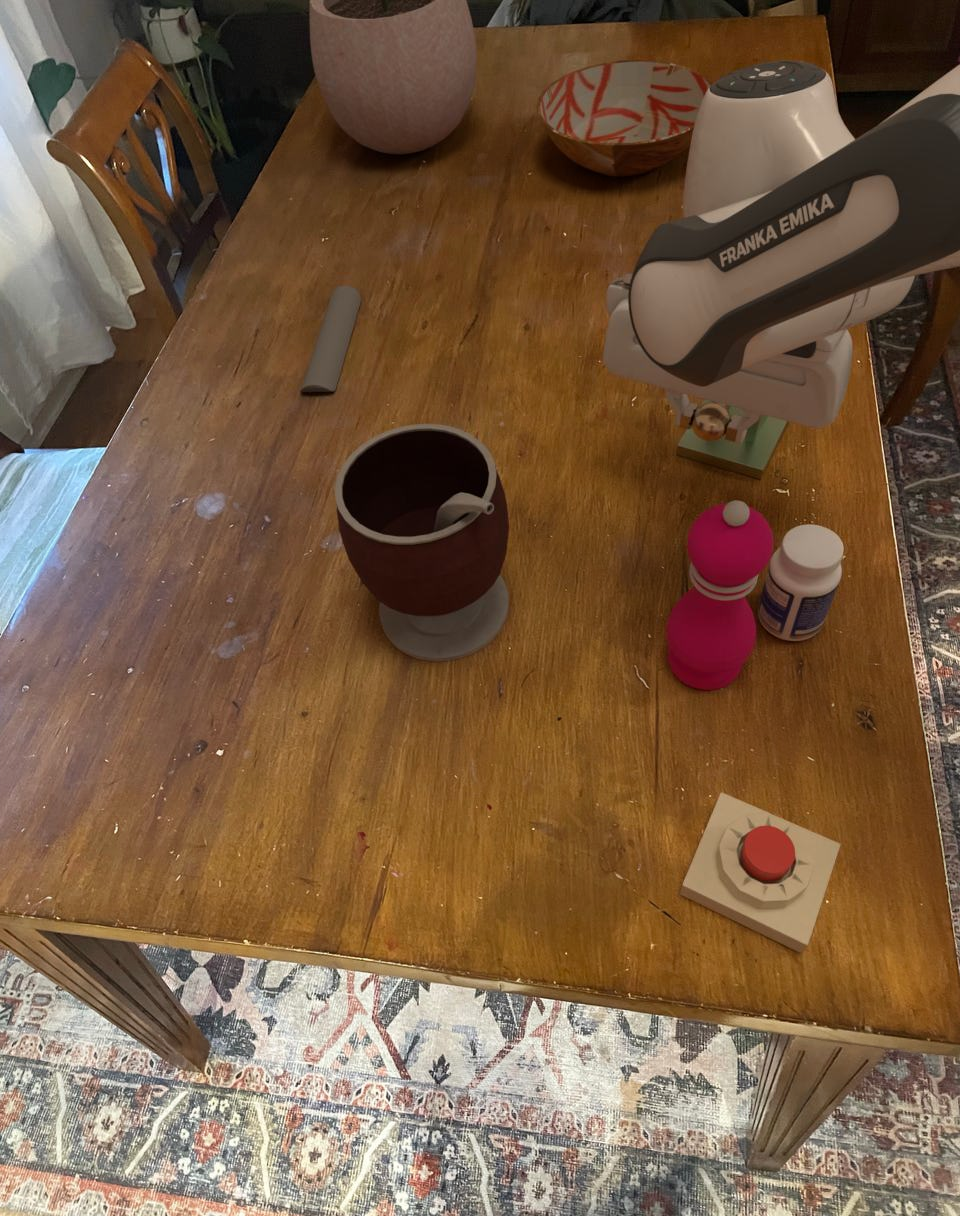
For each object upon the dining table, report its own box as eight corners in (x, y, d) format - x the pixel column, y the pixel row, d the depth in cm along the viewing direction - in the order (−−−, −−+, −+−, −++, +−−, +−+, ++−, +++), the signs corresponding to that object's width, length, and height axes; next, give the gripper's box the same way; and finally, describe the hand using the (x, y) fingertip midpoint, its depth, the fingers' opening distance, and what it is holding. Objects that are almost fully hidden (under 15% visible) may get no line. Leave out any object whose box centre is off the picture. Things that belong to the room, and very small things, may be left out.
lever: (720, 453, 76) (725, 425, 73) (684, 442, 77) (687, 414, 74) (771, 356, 82) (778, 327, 79) (737, 348, 83) (742, 319, 81)
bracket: (760, 480, 86) (785, 378, 75) (675, 454, 89) (688, 354, 78) (794, 411, 91) (821, 307, 80) (713, 390, 94) (729, 287, 84)
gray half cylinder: (299, 397, 100) (295, 385, 99) (331, 297, 111) (328, 285, 110) (334, 396, 100) (330, 384, 98) (362, 296, 111) (359, 284, 109)
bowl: (732, 126, 127) (740, 67, 121) (680, 214, 115) (686, 154, 108) (575, 108, 135) (575, 52, 129) (511, 189, 123) (507, 132, 116)
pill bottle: (826, 597, 77) (854, 525, 68) (820, 649, 74) (848, 579, 65) (760, 585, 78) (780, 513, 70) (751, 636, 75) (772, 566, 67)
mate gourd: (342, 613, 81) (281, 463, 65) (445, 528, 86) (412, 368, 70) (456, 707, 74) (419, 565, 58) (561, 608, 79) (555, 451, 63)
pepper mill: (665, 622, 77) (686, 463, 61) (747, 629, 75) (792, 469, 59) (659, 690, 73) (681, 540, 57) (747, 700, 71) (794, 549, 55)
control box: (833, 854, 63) (847, 834, 60) (801, 953, 60) (813, 938, 56) (717, 802, 66) (724, 781, 63) (679, 894, 63) (684, 876, 59)
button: (796, 847, 60) (801, 838, 59) (781, 890, 59) (786, 882, 57) (749, 826, 61) (753, 817, 60) (733, 867, 60) (737, 859, 58)
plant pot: (320, 185, 129) (259, -54, 105) (349, 110, 143) (301, -117, 118) (476, 178, 126) (450, -70, 101) (491, 102, 139) (471, -133, 115)
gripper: (591, 291, 68) (590, 422, 79) (854, 351, 61) (812, 486, 72) (623, 248, 71) (617, 380, 82) (877, 301, 64) (833, 438, 75)
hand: (710, 430), depth 77 cm, fingers closed on lever, 3 cm apart
